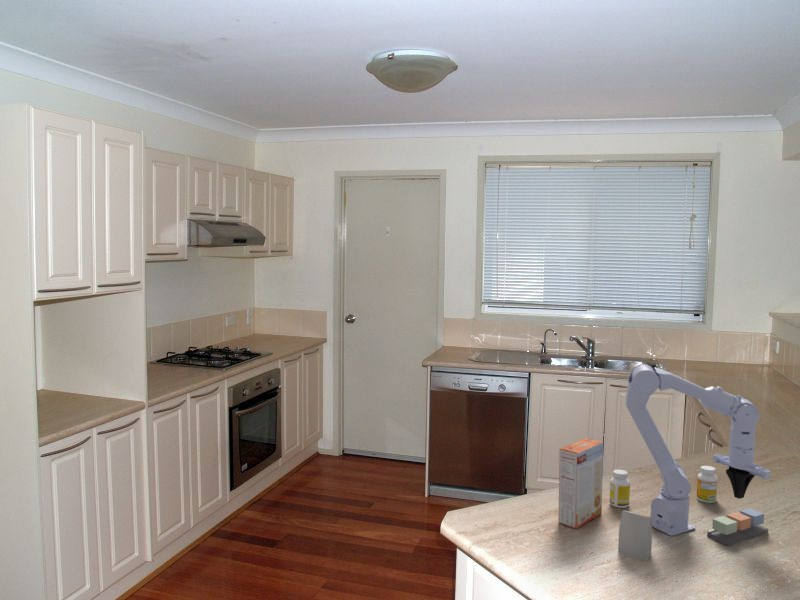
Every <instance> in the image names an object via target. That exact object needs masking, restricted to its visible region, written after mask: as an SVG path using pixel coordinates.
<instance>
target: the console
mask: <svg viewBox="0 0 800 600" xmlns="http://www.w3.org/2000/svg"><path fill="white" fill-rule="evenodd" d="M767 534H769V528H768V527H765V526H763V525H761V524H760V525H757V526H752V525H751V526H750V528H747V529H744V530H741V531H740V530H738V529H737V532H734V533H731V534H728V535H725V534H723V533H721V532H719V531H717V530H714V529H709V530H707V533H706V536H707V537H708V538H709V539H712V540H713V541H716V542H719V543H721V544H723V545H725V546H727V547H731V546H734V545H736V544H740V543H742V542H746V541H749V540H750V539H751V540H752V539H754V538H758V537H761V536H764V535H767Z"/></svg>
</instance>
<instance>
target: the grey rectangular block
mask: <svg viewBox="0 0 800 600" xmlns="http://www.w3.org/2000/svg"><path fill="white" fill-rule="evenodd" d="M620 516H621V517H620V522H619V529H618V545H617V552H618V553H620V554H623V555H626V556H630V557H632V558H636V559H639V560H642V561H645V562H646V561H648V559H650V557H651V556H652V546H653V544H652V543H653V542H652V541H653V529H652V528H653V527H652V526H651V517H650V516H647V515H642V514H639V513H636V512H631V511H629V510H625V509H623V510H622V511H621V515H620Z"/></svg>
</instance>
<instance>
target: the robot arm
mask: <svg viewBox="0 0 800 600" xmlns="http://www.w3.org/2000/svg"><path fill="white" fill-rule="evenodd" d="M626 388H627V389H626V396H625V406H626V409H627V411H628V413H629V414H630V416H631V417H632V420H633V421H634V424H635V425H636V427H637V429H638V431H639V433H640V435H641V438H642V439H643V441H644V442H645V445H646V447H647V448H648V450H649V452H650V454H651V457H652V458H653V459H654V462H655V464H656V466H657V467H658V470H659V472H660V479H661V480H662V482H663V485H662V486H661V488H660V489H659V491H660V492H659V494H658V496H656V497H655V498H653V499H652V501H651V504H650V516H649V517H651V526H652V528H655V529H657V530H659V531H661V532H662V533H665V534H667V535H668V536H676V535H679V534H682V533H683V534H684V533H686V532H690V531H693V530H695V529H696V526H694V525H693V524H690V523H689V515H690V500H691V499H690V496H691V491H692V484H691V482H690V480H689V479H688V478H687V475H686V471H685V469H684V468H683V467H682V466H680V465H679V464H678V463H677V462H676V460H675V459H674V457H673V455H672V453H671V451H670V449H669V447H668V446H667V444H666V442H665V440H664V438H663V436H662V434H661V432H660V431H659V429H658V427H657V425H656V423H655V421H654V420H653V417H652V415H651V414H650V412H649V409H648V408H647V406H646V405H647V404H648V401H649V399H650V397H651V396H653V394H654V393H655V392H656V391H657V390H658V389H659V391H660V392H662V391H666V390H669V389H670V390H671V389H672V390H675V391H676V392H679V393H682V394H684V395H687V396H690V397H692V398H695V399H697V400H699V401H700V403H701V405H702V406H703V407H704V408H706V409H709V410H711V411H713V412H715V413H717V414H720V415H723V416H725V417H728V418H729V417H730V418H731V424H730V430H729V431H730V434H729V435H730V436H729V446H728V447H729V450H728V451H729V452H728V455H723V454H719V453H717V454H716V453H715V454H713V455H712V456H713V457H712V463H715V464H719V465H720V464H721V465H724V466H727V467H728V468H727V469H725V473H726V475H727V476H728V479H729V482H730V484H731V488H732V491H733V496H734V498H736V499H739V500H740V499H743V498H744V497H745V495H746V491H747V489H748V487H749V485H750V483H751V482H752V480H753V479H754V478H755V476H757V477H759V478H761V479H762V480H769V479H771V474H772V473H771V470H769V469H766V468H764V467H762V466H760V465H758V464H756V463H754V462H755V448H756V423H758V422H759V420H760V417H761V415H760V414H759V410H758V408H757V406H755V405H754V404H753V403H752V402H751V401H750V400H749V399H746V398H745V397H742V396H741V395H739V394H737V395H734V394H732V393H730V392H727V391H725V390H724V388H723V387H721V386H718V385H717V386H716V387H715V386H712V385H711V386H707V387H705V388H704V387H702V386H700V385H698V384H697V383H696V384H695V383H694V382H692V381H689V380H687V379H685V378H683V377H680V376H679V375H676V374H674V373H672V372H669V371H666V370H665V369H661V368H658V367H656V366H655V367H654V368H653V366H651V365H649V364H646V363H640V364H637V365H635V366H634V367H633V368H632V370H631V371H630V374H629V376H628V377H627V387H626Z"/></svg>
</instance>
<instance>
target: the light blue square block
mask: <svg viewBox="0 0 800 600" xmlns="http://www.w3.org/2000/svg"><path fill="white" fill-rule="evenodd" d="M739 513H741V514H743V515H745V516H748V517H750V518H751V525H752V526H757V525H760V526H761V525H762V524H764V522H765V513H763V512H761V511H758V510H755V509H753V508H751V507H750V508H745V509H742V510H740V511H739Z"/></svg>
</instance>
